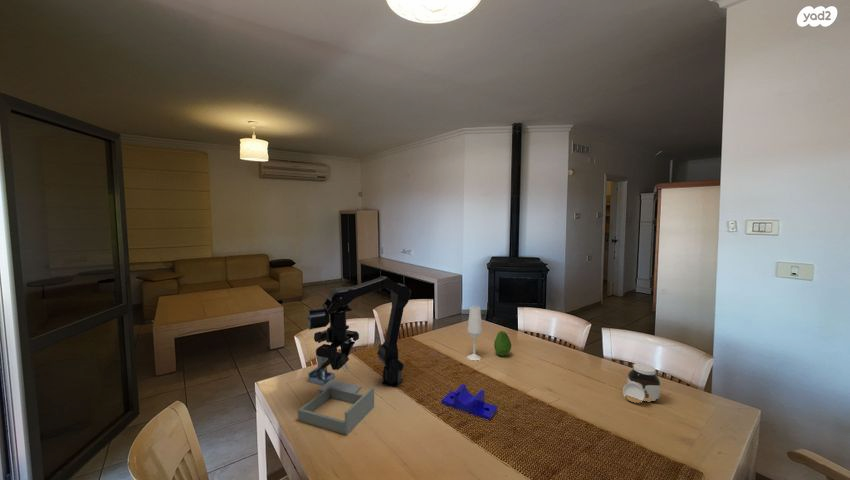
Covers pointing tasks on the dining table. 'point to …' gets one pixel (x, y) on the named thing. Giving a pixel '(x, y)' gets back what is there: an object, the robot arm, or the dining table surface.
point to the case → (352, 415)
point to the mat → (340, 386)
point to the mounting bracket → (470, 402)
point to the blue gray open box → (314, 379)
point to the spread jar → (642, 382)
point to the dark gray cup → (323, 372)
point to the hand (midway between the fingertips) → (339, 365)
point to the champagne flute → (474, 329)
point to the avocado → (502, 344)
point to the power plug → (341, 362)
